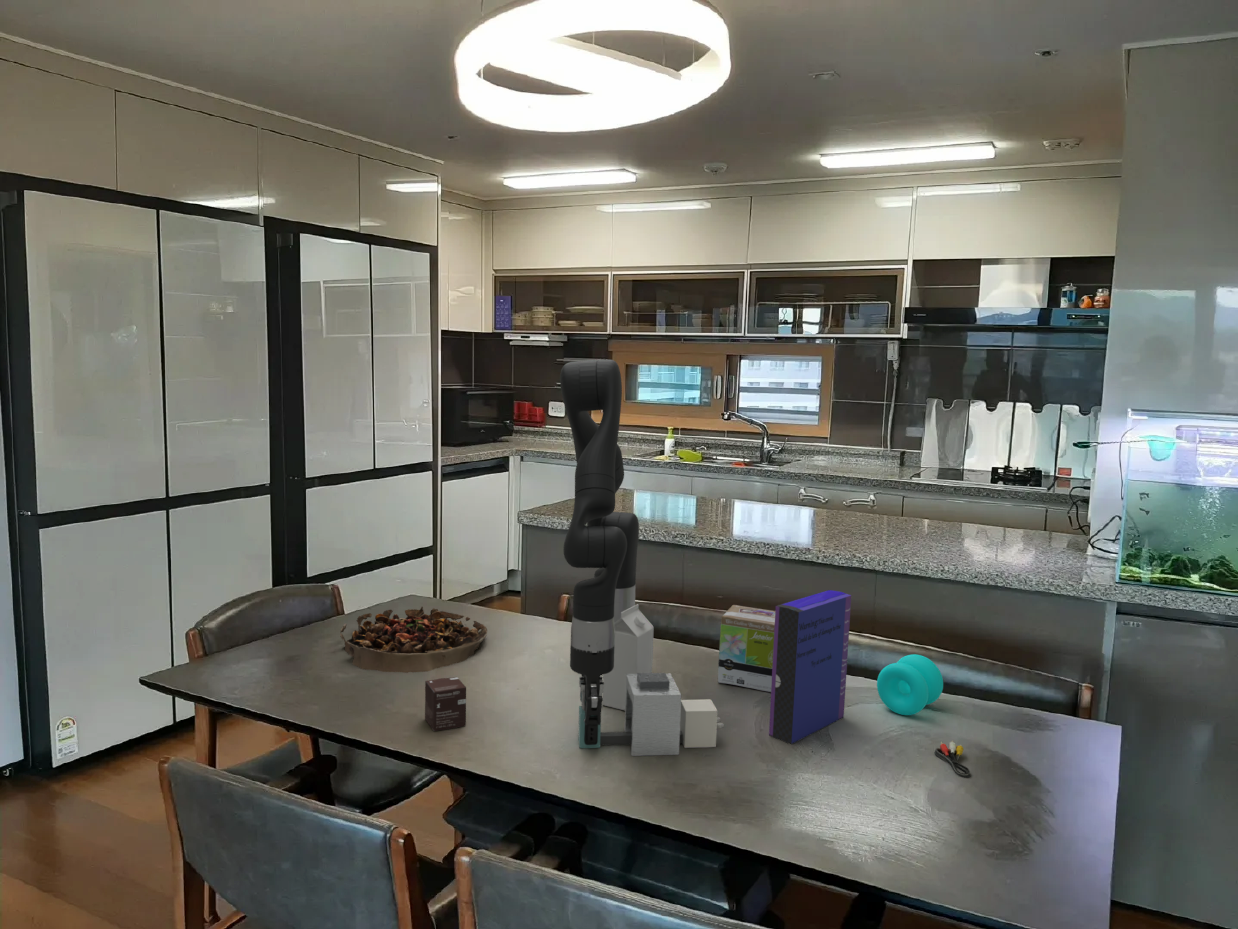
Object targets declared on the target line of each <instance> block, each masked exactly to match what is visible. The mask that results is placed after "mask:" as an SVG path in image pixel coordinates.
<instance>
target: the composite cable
mask: <svg viewBox="0 0 1238 929" xmlns="http://www.w3.org/2000/svg"><path fill="white" fill-rule="evenodd" d="M963 753H964V747H963V745H962V744H958V745H956V743H955V741H954V740H951V741H949V743H948V746H947V744H945V743H944V742H943V741H940V744H939V747H937V748H935V750H934V754H935V756H936V757H937V758H940V759H941V760H943V761H944V762H945V763H947V764H948V765H949V766H951V769H952V770H953V772H954V774H955V775H957V776H958V777H962V778H967V779H968V778H970V777H971V771H970V769H969V768H968V767H967V766H966V765H964V764H961V763H959V762H958V760H959V759H960V758H959V757H960V756H962V755H963ZM943 754H944V755H943ZM960 771H961V772H960Z"/></svg>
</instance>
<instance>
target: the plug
mask: <svg viewBox="0 0 1238 929" xmlns="http://www.w3.org/2000/svg"><path fill="white" fill-rule="evenodd" d="M589 717H596V715H591V716H589ZM721 721H722V720H721V717H719V716H718V709H717V708H716V705H715V703H713V701H712V699H709V698H707V699H681V714H680V739H679V744H682V745H683V748H684V749H687V748H689V749H690V748H717V732H718V730H717V729H724V728H725V724H724V722H721ZM601 725H602V722H601V723H600V725H598V742H597V744H596V745H586V744H585V742H584V733H585V723H584V710H583V709H582V705H579V706H578V730H577V732H578V735H577V736H578V738H577V740H578V747H579V749H598V748H599V749H600V748H601V746H619V745H620V746H623V745H630V746H631V736H632V732H625V731H604V732H603V731H601V730H602V729H601Z"/></svg>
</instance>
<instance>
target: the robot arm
mask: <svg viewBox="0 0 1238 929" xmlns="http://www.w3.org/2000/svg"><path fill="white" fill-rule="evenodd" d="M559 382H560V384H559V385H560V393H561V395H562V396H561V397H562V400H563V405H564V408H565V412H566V415H567V420H568V422H569V427H570V430H571V435H572V438H573V444H574V445H573V446H574V451H575V452H574V453H575V458H576V459H575V460H576V466H575V472H574V505H573V513H572V516H571V520H570V523H569V527H568V530H567V532H566V536H565V540H564V543H563V555H564V556H563V557H564V559H565V561H566V563H568V565H569V566H571V567H573V568H577V569H588V568H589V569H596V571H595V572H594V576H593V577H592V578H588V579H584V580H580V581H578V582H576V583H575V585H574V587H573V591H572V592H573V594H572V597H573V598H572V601H573V602H572V621H571V627H570V645H569V646H570V650H569V651H570V652H569V654H570V655H569V667H570V669H571V670H572V672H574V673H576V674H579V675H581V676H579V680H578V681H579V682H578V685H579V698H580V703H581V706H582V709H583V710H584V723H585V733H584V742H585V744H586V745H596V744H597V742H598V725H600V723H601V724H602V710H603V705H602V702H603V692H604V682H603V676H602V675H603V674H607V673H609V672H611V671H612V670H613V668H614V648H615V624H614V623H615V622H616V621H618V620H619V619H620V618H621V612H623V611H625V610H627V609H629V608H631V607H633V606H635V605H636V586H637V585H636V581H637V580H636V579H637V578H636V577H637V576H636V575H637V558H638V545H639V537H640V536H639V535H640V534H639V532H640V524H639V519H638V516H637V515H636V514H635V513H633V512H623V511H622V512H620V511H615V508H616V493H617V492H618V490H620V487H621V486H622V484H623V481H624V479H625V468H624V459H623V454H622V450H621V448H620V446H619V444H618V438H619V431H620V422H621V412H622V410H621V409H622V399H623V398H622V397H623V387H622V386H623V383H622V375H621V370H620V366H619V365H618V362H616V361H615V360H614V359H596V360H595V359H593V360H579V361H578V360H577V361H571V362H567V363H565V364H564V365H563V366H562V367H561V371H560V374H559ZM591 411H602V416H601V420H600V423H599V424H598V423H597V422H595V420H594V419H593V418H592V417H591V415H590V413H589V412H591ZM586 524H587V525H586ZM591 715H596V717H589V716H591Z"/></svg>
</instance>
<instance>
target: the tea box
mask: <svg viewBox="0 0 1238 929" xmlns="http://www.w3.org/2000/svg"><path fill="white" fill-rule="evenodd" d="M720 618H721V619H720V630H719V631H720V632H719V649H718V651H719V652H718V664H717V665H718V666H717V683H719V684H728V685H733V686H739V687H744V688H749V689H753V690H758V691H763V692H769V693H771V686H772V667H773V648H774V629H775V610H770V609H762V608H759V607H758V608H757V607H749V606H744V605H739V604H738V605H737V604H733V605H731V607H729V608H728V609H727V611H726V612H725V613H724V614H723V615H722V616H721V617H720Z"/></svg>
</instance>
